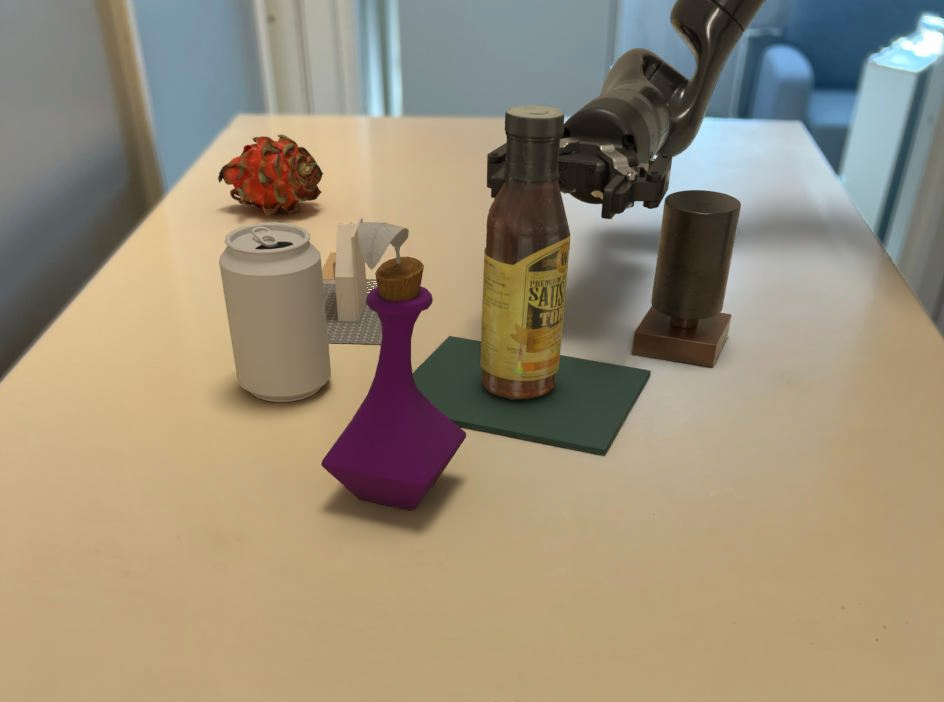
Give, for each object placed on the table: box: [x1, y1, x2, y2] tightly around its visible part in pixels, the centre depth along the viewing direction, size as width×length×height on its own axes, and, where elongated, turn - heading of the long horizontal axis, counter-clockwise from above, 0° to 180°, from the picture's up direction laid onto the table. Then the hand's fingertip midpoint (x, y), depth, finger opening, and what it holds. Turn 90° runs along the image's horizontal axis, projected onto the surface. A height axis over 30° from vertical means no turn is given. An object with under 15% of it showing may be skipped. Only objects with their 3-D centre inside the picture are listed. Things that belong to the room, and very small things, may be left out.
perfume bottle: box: [320, 221, 467, 511], centre depth 62 cm, size 8×8×18 cm
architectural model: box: [322, 215, 382, 345], centre depth 90 cm, size 3×7×7 cm, turn 177°
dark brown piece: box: [631, 189, 742, 368], centre depth 83 cm, size 7×7×12 cm
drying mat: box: [412, 335, 652, 456], centre depth 79 cm, size 18×14×1 cm
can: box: [218, 221, 332, 403], centre depth 76 cm, size 8×8×12 cm
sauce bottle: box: [480, 105, 571, 400], centre depth 73 cm, size 7×6×20 cm
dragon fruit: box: [217, 134, 324, 217], centre depth 111 cm, size 8×8×12 cm
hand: (552, 198), depth 75 cm, fingers open, 8 cm apart
